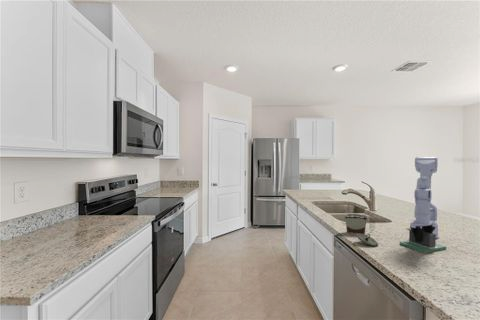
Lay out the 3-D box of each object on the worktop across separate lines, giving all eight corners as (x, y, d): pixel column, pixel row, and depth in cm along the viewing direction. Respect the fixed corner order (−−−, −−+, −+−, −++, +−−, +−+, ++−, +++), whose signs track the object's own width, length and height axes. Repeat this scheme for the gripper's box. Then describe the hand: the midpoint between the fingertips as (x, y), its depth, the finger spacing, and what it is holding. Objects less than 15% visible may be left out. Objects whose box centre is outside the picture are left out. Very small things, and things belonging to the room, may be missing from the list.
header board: (420, 241, 129) (420, 233, 129) (446, 249, 117) (446, 240, 117) (399, 244, 124) (399, 236, 123) (424, 253, 112) (424, 243, 112)
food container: (365, 231, 146) (365, 214, 146) (367, 234, 140) (367, 216, 140) (342, 229, 149) (342, 213, 149) (344, 232, 143) (344, 215, 143)
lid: (358, 239, 132) (358, 229, 132) (379, 242, 126) (379, 233, 126) (353, 244, 124) (353, 234, 124) (375, 248, 118) (376, 238, 118)
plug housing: (410, 238, 128) (410, 227, 128) (435, 246, 117) (435, 234, 117) (404, 239, 127) (404, 228, 127) (429, 247, 115) (429, 235, 115)
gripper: (424, 210, 127) (424, 236, 127) (404, 212, 122) (404, 240, 122) (439, 213, 120) (439, 241, 120) (418, 215, 115) (418, 244, 115)
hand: (422, 241), depth 120 cm, fingers open, 6 cm apart
